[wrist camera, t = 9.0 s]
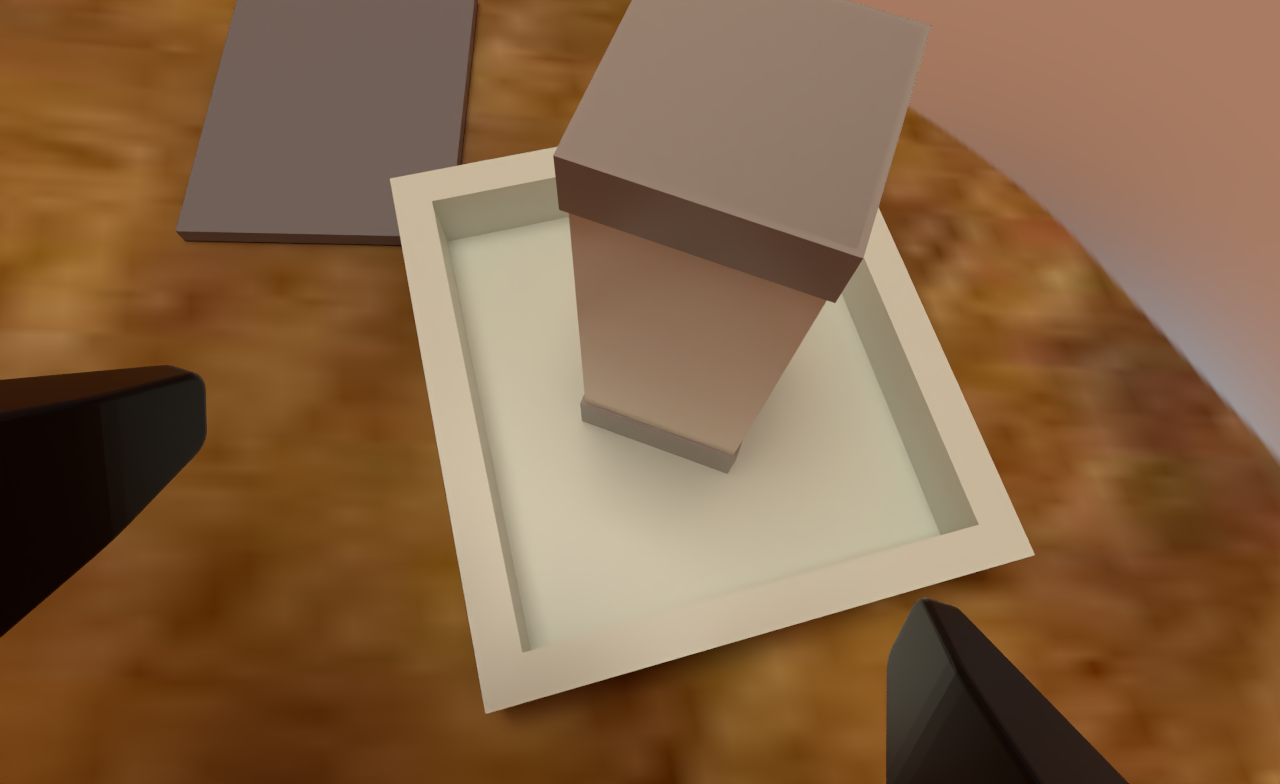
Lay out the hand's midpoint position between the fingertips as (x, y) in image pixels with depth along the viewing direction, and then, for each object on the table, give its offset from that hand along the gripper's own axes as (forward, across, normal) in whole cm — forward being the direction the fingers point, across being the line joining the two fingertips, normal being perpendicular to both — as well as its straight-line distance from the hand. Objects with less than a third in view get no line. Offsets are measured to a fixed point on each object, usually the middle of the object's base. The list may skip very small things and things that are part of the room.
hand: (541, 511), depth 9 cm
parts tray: (+12, -1, +3) cm, 12 cm away
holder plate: (+16, +12, -1) cm, 20 cm away
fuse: (+12, -1, +3) cm, 12 cm away
